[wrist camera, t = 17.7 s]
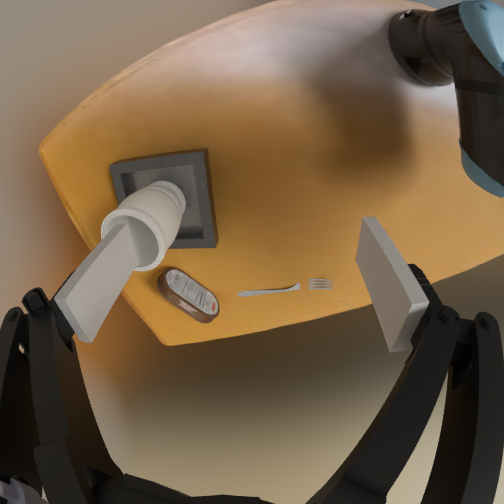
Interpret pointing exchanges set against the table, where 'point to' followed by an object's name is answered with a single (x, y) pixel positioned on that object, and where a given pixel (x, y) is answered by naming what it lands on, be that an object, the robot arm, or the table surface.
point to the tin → (188, 295)
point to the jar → (150, 221)
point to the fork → (295, 287)
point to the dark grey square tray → (183, 176)
